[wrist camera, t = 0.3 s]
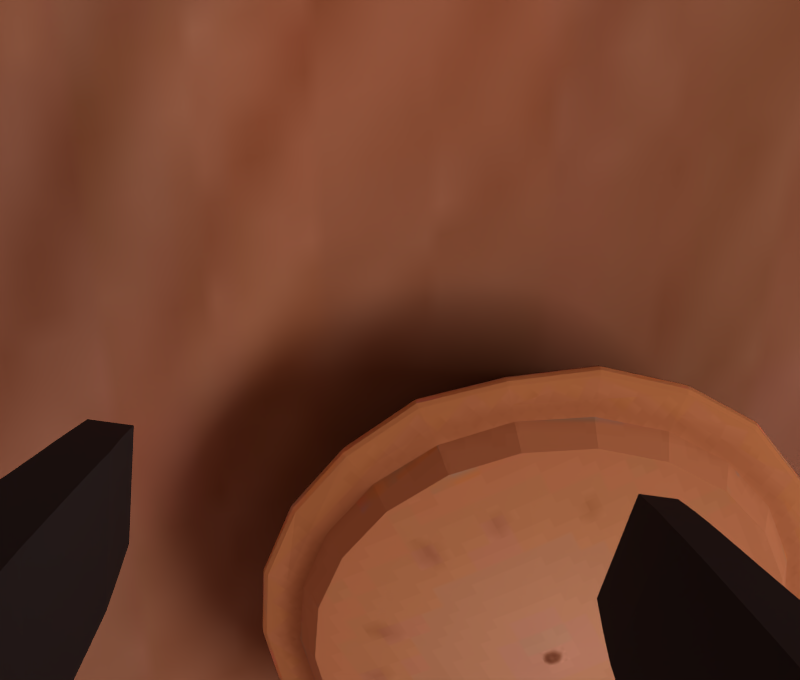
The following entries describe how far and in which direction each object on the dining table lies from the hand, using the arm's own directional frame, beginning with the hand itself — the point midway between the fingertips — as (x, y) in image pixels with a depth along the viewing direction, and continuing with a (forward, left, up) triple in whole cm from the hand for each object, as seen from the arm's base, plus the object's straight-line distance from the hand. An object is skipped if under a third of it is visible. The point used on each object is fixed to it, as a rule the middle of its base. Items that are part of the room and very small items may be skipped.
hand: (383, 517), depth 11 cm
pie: (-8, -6, -10) cm, 14 cm away
